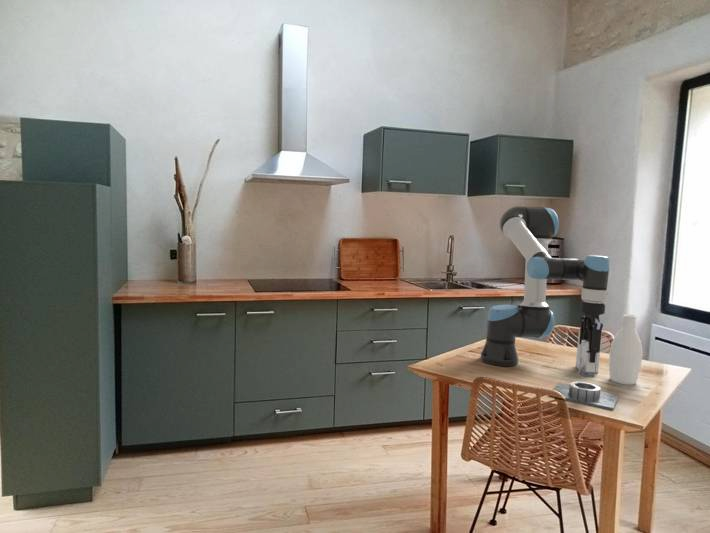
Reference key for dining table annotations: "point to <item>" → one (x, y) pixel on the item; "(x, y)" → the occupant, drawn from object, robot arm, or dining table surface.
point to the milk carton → (579, 355)
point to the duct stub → (583, 360)
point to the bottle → (626, 353)
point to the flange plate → (599, 402)
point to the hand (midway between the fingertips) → (587, 368)
